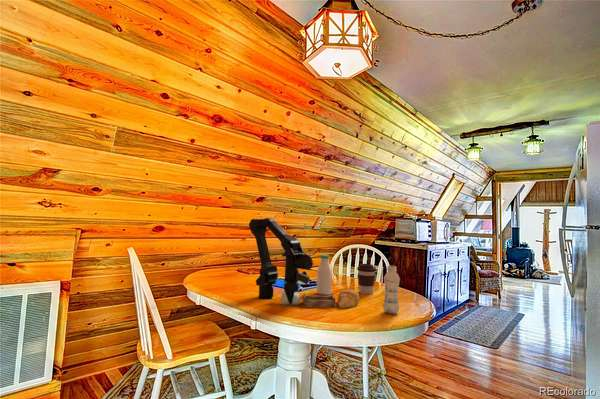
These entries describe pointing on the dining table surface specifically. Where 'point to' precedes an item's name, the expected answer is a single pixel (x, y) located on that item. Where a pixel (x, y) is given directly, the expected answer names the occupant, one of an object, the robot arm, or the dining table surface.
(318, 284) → the milk bottle
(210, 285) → the dining table surface
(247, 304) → the dining table surface
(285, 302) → the roll
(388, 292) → the plastic bottle
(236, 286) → the dining table surface
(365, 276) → the coffee cup
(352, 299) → the croissant
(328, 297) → the tray
